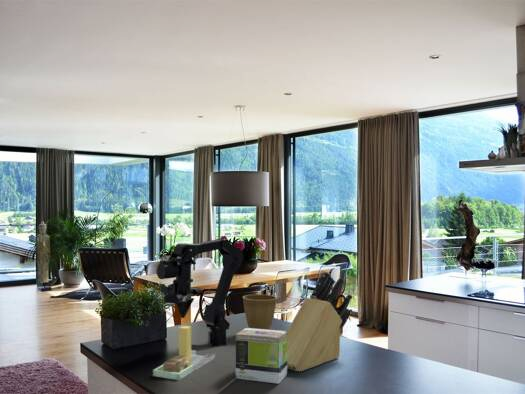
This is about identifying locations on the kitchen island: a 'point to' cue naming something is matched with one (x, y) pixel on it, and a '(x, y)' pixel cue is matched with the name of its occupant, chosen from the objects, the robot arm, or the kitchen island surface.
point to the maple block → (183, 361)
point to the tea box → (261, 355)
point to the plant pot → (259, 310)
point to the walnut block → (172, 366)
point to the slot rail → (200, 359)
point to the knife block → (317, 326)
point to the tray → (172, 373)
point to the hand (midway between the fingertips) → (182, 317)
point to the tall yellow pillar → (185, 343)
